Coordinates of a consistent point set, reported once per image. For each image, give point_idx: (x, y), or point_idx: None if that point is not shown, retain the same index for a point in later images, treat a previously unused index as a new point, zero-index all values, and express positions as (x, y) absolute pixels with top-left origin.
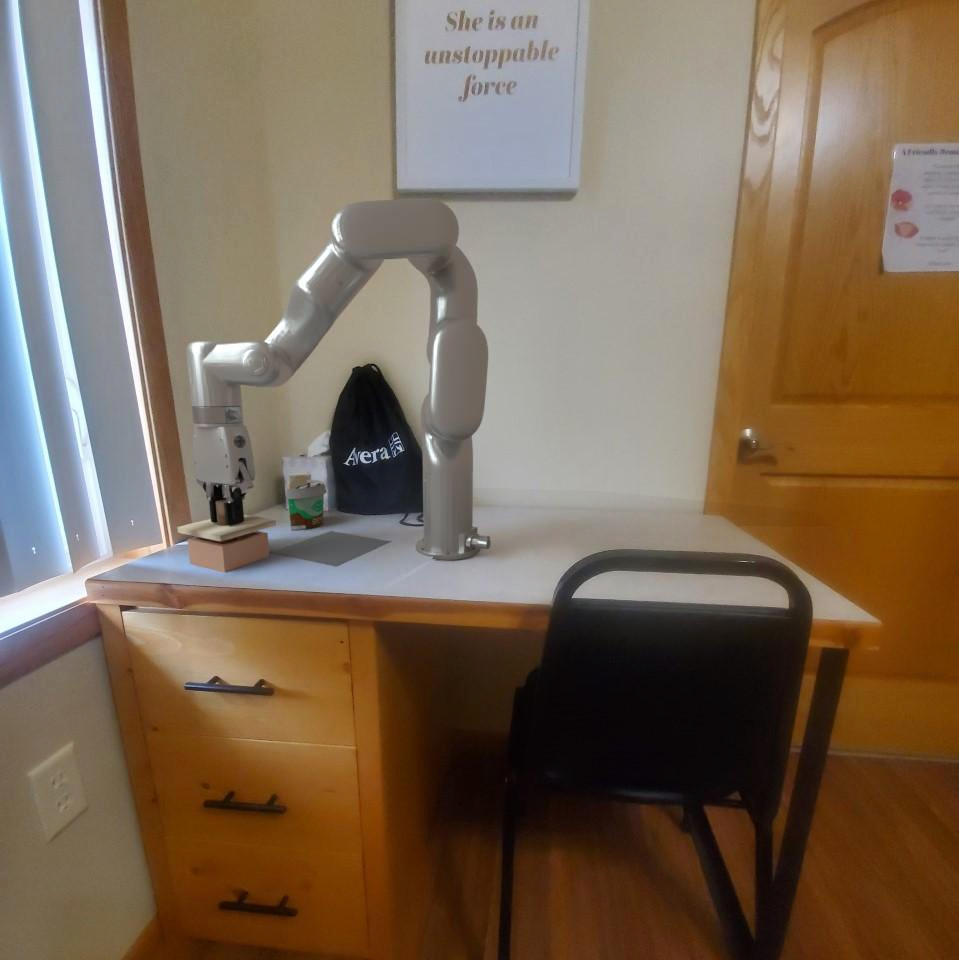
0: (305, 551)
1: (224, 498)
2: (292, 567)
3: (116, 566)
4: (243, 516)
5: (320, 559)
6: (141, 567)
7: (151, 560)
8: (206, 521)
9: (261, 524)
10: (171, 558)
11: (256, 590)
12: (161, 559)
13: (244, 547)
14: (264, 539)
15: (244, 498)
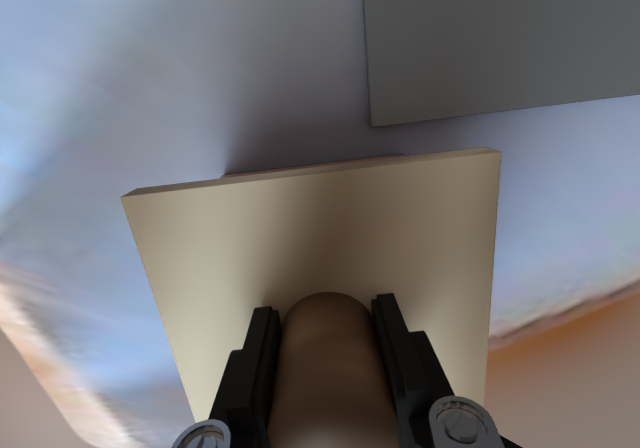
0: (493, 28)
1: (254, 424)
2: (540, 159)
3: (99, 411)
4: (397, 306)
5: (622, 65)
6: (156, 386)
7: (109, 353)
8: (205, 365)
9: (491, 248)
10: (131, 318)
11: (570, 316)
12: (119, 336)
13: None
14: None
15: (485, 411)
